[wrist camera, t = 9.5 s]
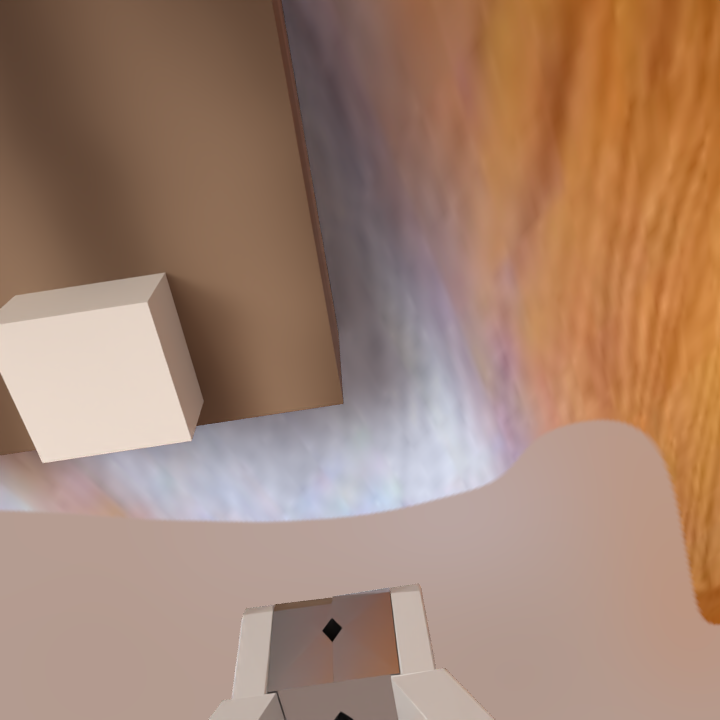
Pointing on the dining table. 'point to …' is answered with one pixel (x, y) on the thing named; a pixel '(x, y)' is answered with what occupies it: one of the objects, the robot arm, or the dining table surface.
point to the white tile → (99, 368)
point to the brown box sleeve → (169, 186)
